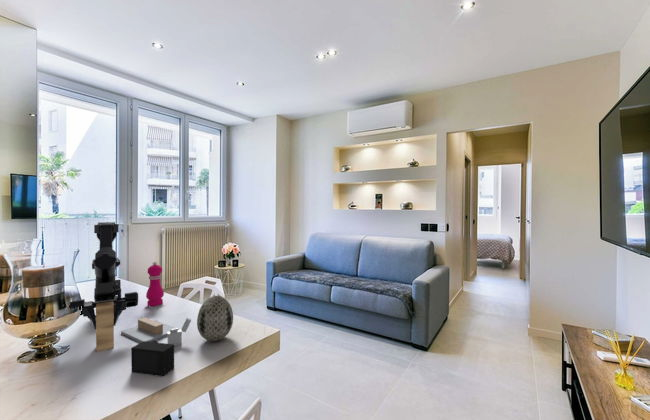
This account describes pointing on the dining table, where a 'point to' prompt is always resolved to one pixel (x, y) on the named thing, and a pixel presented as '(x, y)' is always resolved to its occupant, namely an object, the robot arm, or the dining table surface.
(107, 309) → the oak block
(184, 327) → the lighter
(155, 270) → the pepper mill
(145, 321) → the ridge stand
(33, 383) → the dining table surface
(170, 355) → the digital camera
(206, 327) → the decorative egg
